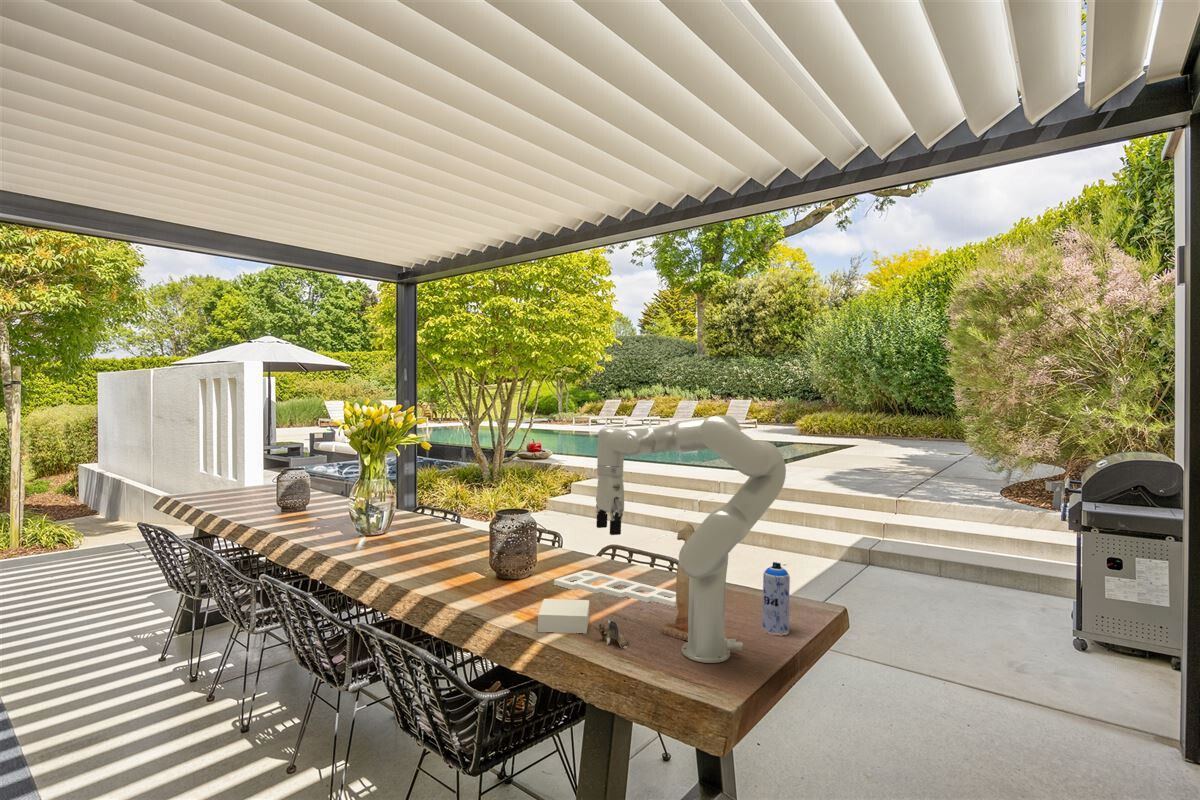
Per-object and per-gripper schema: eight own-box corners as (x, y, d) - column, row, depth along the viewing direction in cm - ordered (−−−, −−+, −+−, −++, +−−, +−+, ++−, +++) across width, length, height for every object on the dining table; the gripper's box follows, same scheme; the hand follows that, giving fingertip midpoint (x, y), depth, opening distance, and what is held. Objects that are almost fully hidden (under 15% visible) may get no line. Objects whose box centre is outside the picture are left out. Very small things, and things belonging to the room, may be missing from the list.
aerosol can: (756, 630, 177) (758, 562, 177) (769, 624, 182) (770, 557, 183) (781, 638, 171) (783, 567, 172) (793, 631, 177) (795, 563, 177)
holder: (688, 603, 202) (688, 595, 202) (659, 617, 188) (659, 608, 188) (585, 576, 230) (586, 569, 230) (553, 587, 216) (553, 579, 216)
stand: (588, 616, 185) (589, 600, 185) (586, 633, 171) (587, 616, 171) (543, 615, 186) (543, 598, 186) (537, 632, 172) (538, 614, 172)
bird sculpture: (680, 624, 182) (679, 517, 182) (715, 633, 174) (714, 522, 175) (660, 635, 173) (659, 523, 174) (695, 645, 166) (694, 527, 166)
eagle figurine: (589, 640, 164) (615, 643, 158) (595, 614, 168) (621, 615, 162) (605, 649, 168) (631, 652, 163) (611, 623, 172) (637, 625, 167)
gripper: (635, 475, 167) (633, 536, 167) (610, 467, 183) (608, 524, 183) (610, 475, 164) (608, 538, 164) (587, 468, 180) (585, 525, 180)
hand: (608, 530), depth 173 cm, fingers open, 9 cm apart
